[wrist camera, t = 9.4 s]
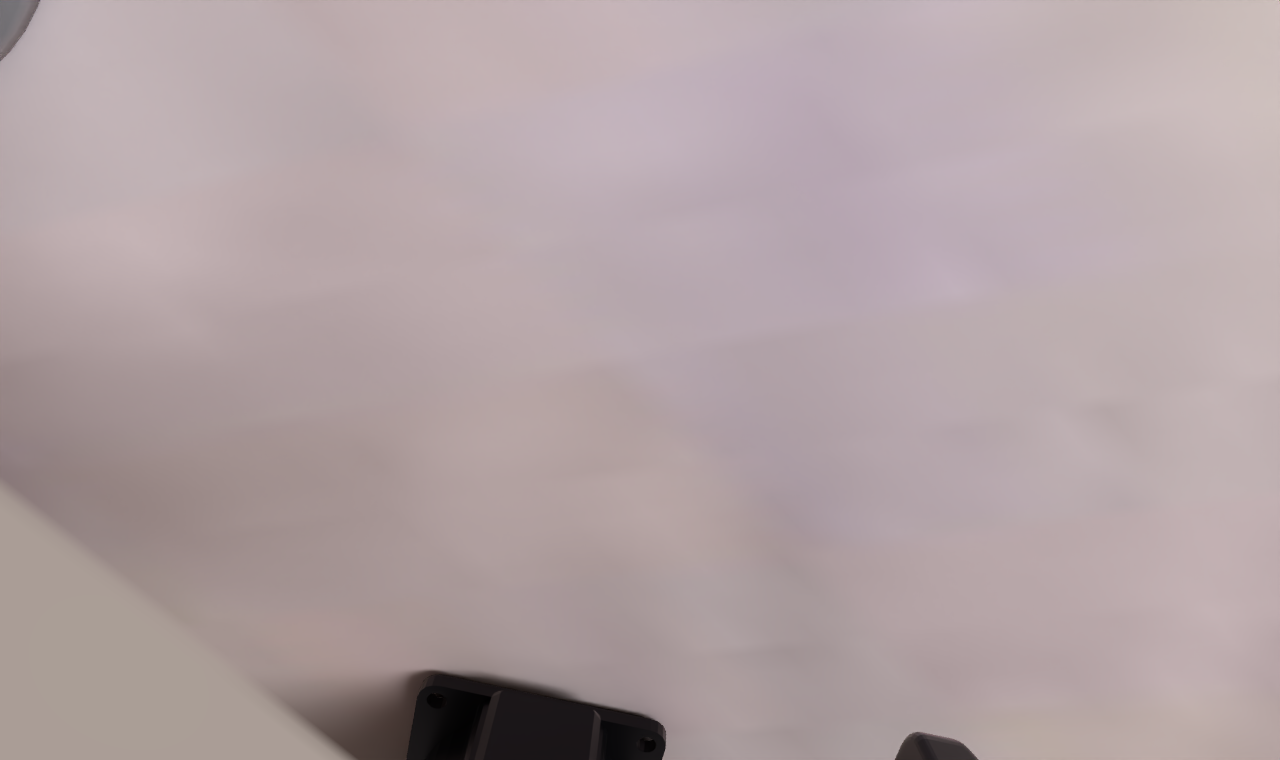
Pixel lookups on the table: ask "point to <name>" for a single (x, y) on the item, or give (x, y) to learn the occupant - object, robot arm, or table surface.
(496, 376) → the table surface
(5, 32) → the slate coaster
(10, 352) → the table surface
